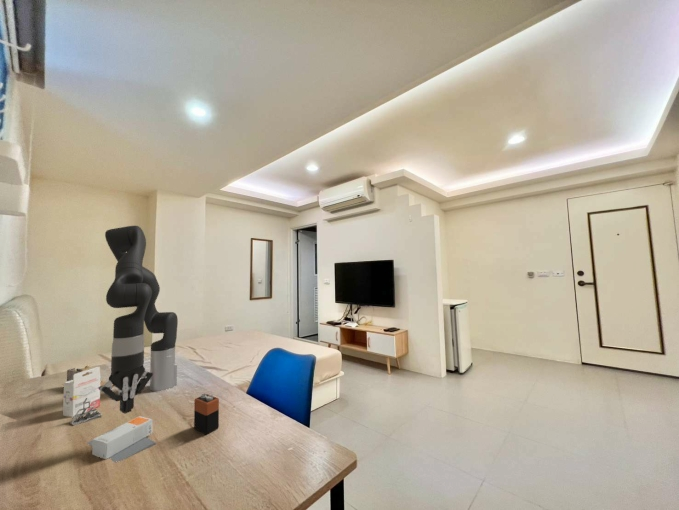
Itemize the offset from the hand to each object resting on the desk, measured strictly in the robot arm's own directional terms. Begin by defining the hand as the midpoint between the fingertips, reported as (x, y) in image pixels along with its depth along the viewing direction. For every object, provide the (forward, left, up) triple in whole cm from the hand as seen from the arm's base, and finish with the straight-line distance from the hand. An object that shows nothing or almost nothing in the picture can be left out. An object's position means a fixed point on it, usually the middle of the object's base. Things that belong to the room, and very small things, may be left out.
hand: (126, 412), depth 76 cm
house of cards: (-1, -29, -9) cm, 30 cm away
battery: (-15, +15, -9) cm, 23 cm away
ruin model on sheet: (-9, -67, -9) cm, 68 cm away
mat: (+3, 0, -8) cm, 9 cm away
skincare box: (-5, 0, -6) cm, 8 cm away
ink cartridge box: (-2, -36, -9) cm, 37 cm away
